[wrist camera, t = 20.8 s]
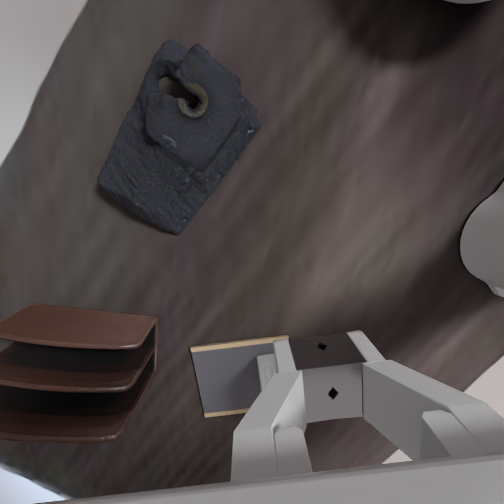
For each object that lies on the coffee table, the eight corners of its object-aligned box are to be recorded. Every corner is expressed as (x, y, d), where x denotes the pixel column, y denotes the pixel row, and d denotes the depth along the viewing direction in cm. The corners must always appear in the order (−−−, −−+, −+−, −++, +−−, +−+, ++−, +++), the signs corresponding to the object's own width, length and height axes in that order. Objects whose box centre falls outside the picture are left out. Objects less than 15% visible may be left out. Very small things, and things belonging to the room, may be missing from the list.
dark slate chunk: (87, 177, 35) (63, 175, 31) (175, 31, 31) (163, 3, 27) (179, 242, 38) (170, 250, 33) (271, 114, 34) (275, 103, 29)
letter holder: (157, 368, 43) (115, 453, 29) (36, 357, 42) (-68, 439, 28) (159, 315, 40) (115, 380, 27) (31, 301, 39) (-85, 361, 26)
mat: (288, 334, 41) (288, 336, 41) (295, 404, 45) (295, 407, 44) (191, 346, 41) (190, 348, 41) (205, 415, 45) (204, 417, 44)
